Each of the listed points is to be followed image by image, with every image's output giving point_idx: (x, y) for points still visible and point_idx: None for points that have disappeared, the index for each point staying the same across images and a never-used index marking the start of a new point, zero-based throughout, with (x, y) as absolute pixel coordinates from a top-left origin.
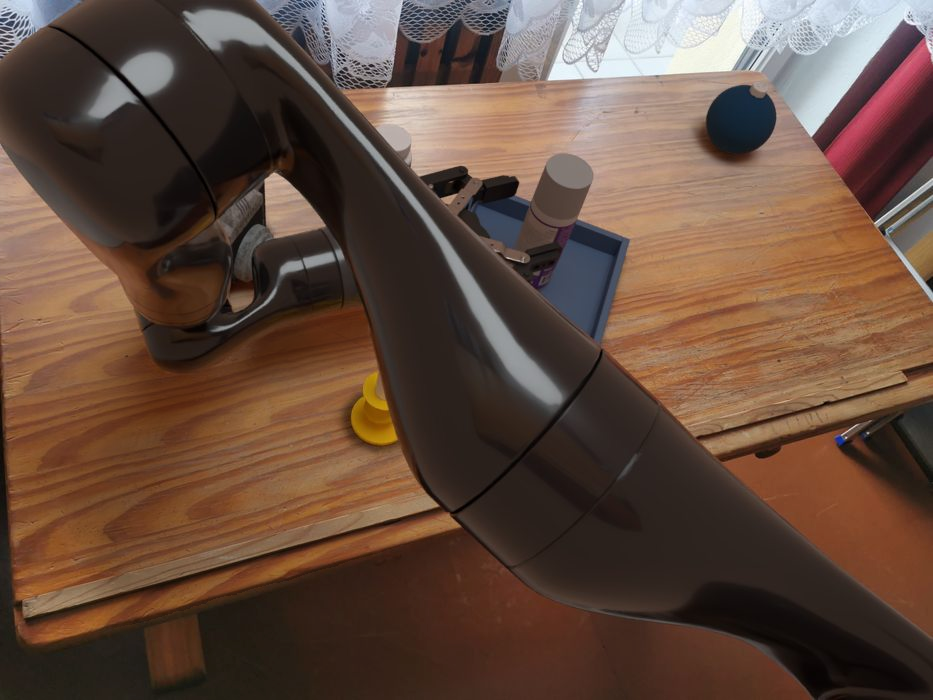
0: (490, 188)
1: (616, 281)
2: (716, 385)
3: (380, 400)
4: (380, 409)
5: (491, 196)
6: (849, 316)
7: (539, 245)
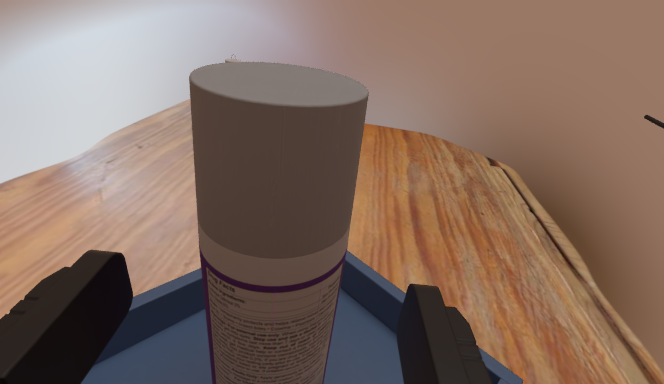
0: (28, 361)
1: (375, 273)
2: (521, 272)
3: None
4: None
5: (60, 379)
6: (436, 161)
7: (314, 343)
